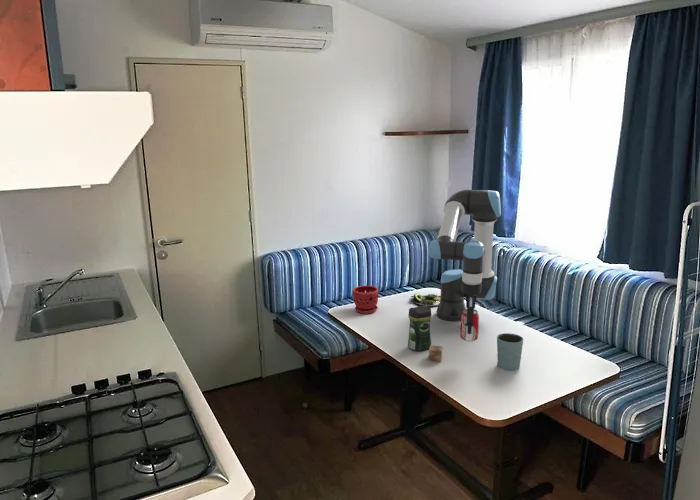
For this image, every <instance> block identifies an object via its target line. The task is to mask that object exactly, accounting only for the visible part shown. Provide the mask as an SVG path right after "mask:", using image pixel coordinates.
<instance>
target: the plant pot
mask: <svg viewBox="0 0 700 500" xmlns="http://www.w3.org/2000/svg"><path fill="white" fill-rule="evenodd" d="M352 296H353V302H354V305H355V307H354V310H355V311H356V312H357V313H359V314H365V315H367V314H373V313H375V312H377V310H378V302H379V288H378V287H377V286H373V285H358V286H356V287H354V288H353V289H352Z"/></svg>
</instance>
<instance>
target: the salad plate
mask: <svg viewBox="0 0 700 500" xmlns="http://www.w3.org/2000/svg"><path fill="white" fill-rule="evenodd" d="M410 297H411V299H410V300H411V302H412V304H414V305H416V306H417V307H419V306H424V305H426V306H428V307H430V308H434V307H435V306H436V307H438V305H439V302H440V297H441V295H438V294H435V293H431V294H430V293H428V294H424V295H421V294H420V293H417V292H416V293H414V295H411V296H410ZM436 301H439V302H438V304H436V303H437V302H436ZM435 302H436V303H435Z"/></svg>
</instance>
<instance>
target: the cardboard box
mask: <svg viewBox="0 0 700 500" xmlns="http://www.w3.org/2000/svg"><path fill="white" fill-rule="evenodd" d="M442 358H443V345H432V344H431V345H430V348H429V349H428V362H432V363H433V362H434V363H442Z"/></svg>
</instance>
